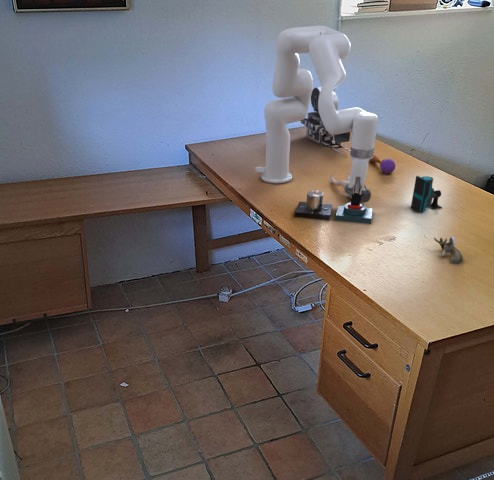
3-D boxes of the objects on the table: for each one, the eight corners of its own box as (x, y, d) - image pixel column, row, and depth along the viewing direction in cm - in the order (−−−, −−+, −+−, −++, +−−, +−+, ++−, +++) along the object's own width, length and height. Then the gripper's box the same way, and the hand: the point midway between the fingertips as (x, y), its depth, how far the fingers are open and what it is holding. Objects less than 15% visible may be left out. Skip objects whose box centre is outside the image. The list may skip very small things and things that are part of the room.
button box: (335, 220, 192) (336, 209, 190) (337, 210, 199) (338, 200, 197) (370, 224, 189) (372, 213, 187) (372, 213, 196) (373, 203, 194)
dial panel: (294, 217, 195) (294, 211, 194) (298, 206, 203) (299, 200, 202) (329, 220, 192) (329, 214, 191) (332, 209, 200) (332, 203, 199)
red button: (347, 211, 191) (348, 206, 190) (348, 206, 195) (349, 201, 194) (360, 212, 190) (361, 207, 189) (361, 207, 194) (362, 202, 193)
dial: (320, 211, 194) (322, 196, 191) (304, 210, 195) (305, 194, 192) (323, 205, 198) (324, 190, 195) (307, 204, 200) (308, 189, 197)
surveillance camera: (450, 176, 192) (425, 180, 189) (443, 208, 198) (419, 213, 195) (439, 171, 196) (415, 175, 194) (433, 203, 203) (409, 207, 200)
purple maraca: (380, 150, 244) (399, 161, 226) (376, 164, 246) (395, 176, 228) (367, 149, 243) (386, 160, 225) (364, 162, 245) (381, 174, 228)
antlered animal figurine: (426, 248, 170) (443, 257, 161) (439, 228, 168) (457, 236, 160) (443, 259, 172) (461, 268, 164) (457, 239, 171) (475, 247, 162)
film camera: (295, 134, 282) (298, 86, 270) (316, 132, 285) (320, 84, 272) (333, 158, 249) (338, 103, 237) (356, 155, 252) (363, 101, 240)
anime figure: (351, 168, 223) (380, 185, 195) (350, 186, 226) (378, 206, 198) (328, 170, 222) (354, 187, 195) (327, 188, 225) (352, 207, 198)
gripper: (351, 145, 189) (346, 195, 199) (348, 158, 177) (342, 211, 186) (374, 146, 187) (367, 197, 197) (372, 160, 175) (365, 213, 184)
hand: (355, 204), depth 191 cm, fingers closed
